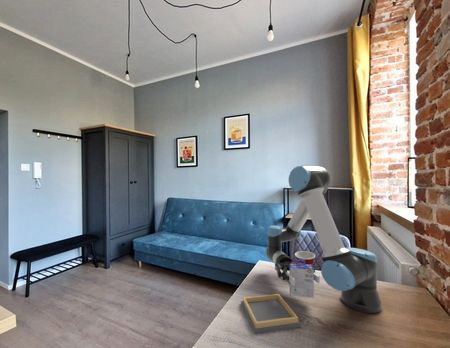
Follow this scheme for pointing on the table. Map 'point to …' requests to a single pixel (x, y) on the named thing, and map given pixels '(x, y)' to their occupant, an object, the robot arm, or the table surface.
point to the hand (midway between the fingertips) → (306, 281)
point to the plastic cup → (305, 257)
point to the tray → (269, 313)
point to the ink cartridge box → (302, 280)
